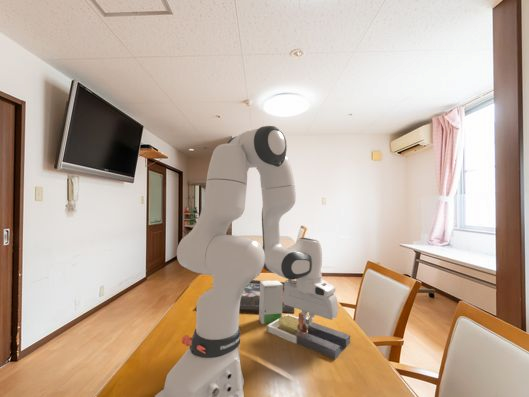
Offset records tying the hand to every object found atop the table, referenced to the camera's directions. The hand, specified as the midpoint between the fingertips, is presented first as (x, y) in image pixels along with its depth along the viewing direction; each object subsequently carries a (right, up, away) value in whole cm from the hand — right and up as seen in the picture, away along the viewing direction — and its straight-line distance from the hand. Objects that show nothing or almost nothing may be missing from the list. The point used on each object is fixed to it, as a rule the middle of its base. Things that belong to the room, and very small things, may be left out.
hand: (308, 323), depth 88 cm
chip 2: (-4, -5, +3) cm, 7 cm away
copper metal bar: (-2, -4, +2) cm, 5 cm away
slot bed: (+4, -6, -4) cm, 8 cm away
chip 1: (-7, -5, +6) cm, 11 cm away
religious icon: (-23, -7, +40) cm, 47 cm away
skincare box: (-13, -6, +13) cm, 19 cm away
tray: (-6, -6, +5) cm, 9 cm away
